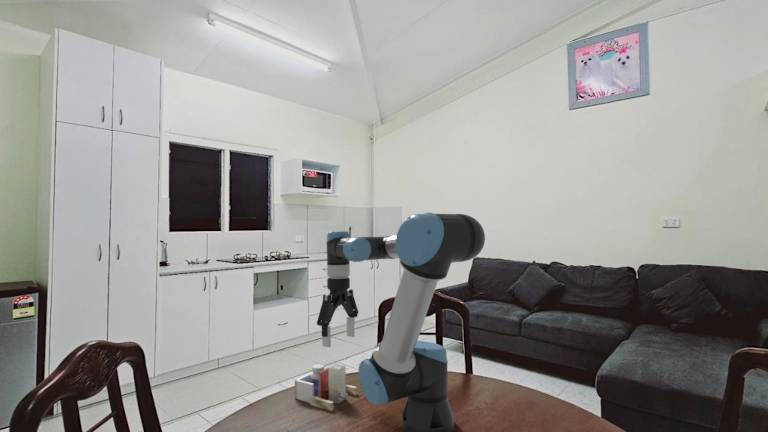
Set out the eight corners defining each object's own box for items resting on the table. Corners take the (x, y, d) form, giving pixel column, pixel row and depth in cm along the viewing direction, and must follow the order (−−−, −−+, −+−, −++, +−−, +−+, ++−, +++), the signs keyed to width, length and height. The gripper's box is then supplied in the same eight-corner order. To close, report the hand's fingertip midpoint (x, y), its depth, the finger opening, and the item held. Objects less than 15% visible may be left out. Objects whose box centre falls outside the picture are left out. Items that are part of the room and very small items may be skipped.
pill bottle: (306, 396, 131) (306, 367, 131) (316, 390, 136) (316, 362, 136) (319, 399, 128) (319, 370, 129) (329, 393, 133) (329, 364, 133)
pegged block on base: (352, 399, 128) (352, 365, 129) (341, 406, 123) (341, 371, 124) (329, 393, 133) (329, 361, 134) (318, 400, 128) (318, 366, 128)
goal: (334, 389, 136) (334, 372, 136) (311, 403, 126) (311, 384, 126) (318, 385, 140) (318, 368, 140) (294, 398, 129) (294, 380, 130)
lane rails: (357, 394, 132) (357, 387, 132) (331, 411, 120) (331, 403, 120) (336, 388, 137) (336, 382, 137) (309, 404, 125) (309, 397, 125)
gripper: (350, 273, 143) (350, 331, 142) (305, 281, 121) (305, 349, 120) (367, 273, 139) (368, 333, 138) (324, 282, 117) (324, 353, 116)
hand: (339, 341), depth 129 cm, fingers open, 13 cm apart
